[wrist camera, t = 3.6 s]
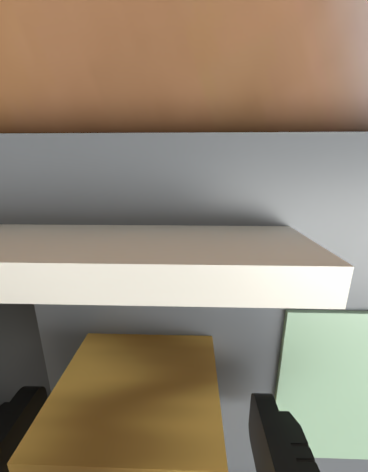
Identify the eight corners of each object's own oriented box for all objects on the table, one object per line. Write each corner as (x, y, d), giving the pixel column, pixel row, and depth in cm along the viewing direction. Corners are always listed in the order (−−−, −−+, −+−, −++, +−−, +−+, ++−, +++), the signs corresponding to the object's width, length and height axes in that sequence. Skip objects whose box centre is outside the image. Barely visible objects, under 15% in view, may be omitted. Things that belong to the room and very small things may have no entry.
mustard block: (212, 335, 10) (227, 472, 5) (208, 429, 11) (219, 597, 7) (87, 333, 10) (7, 463, 6) (99, 425, 11) (42, 587, 7)
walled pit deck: (464, 140, 10) (894, 100, 4) (366, 472, 16) (480, 674, 9) (-134, 142, 11) (-561, 112, 5) (-28, 458, 17) (-160, 635, 10)
